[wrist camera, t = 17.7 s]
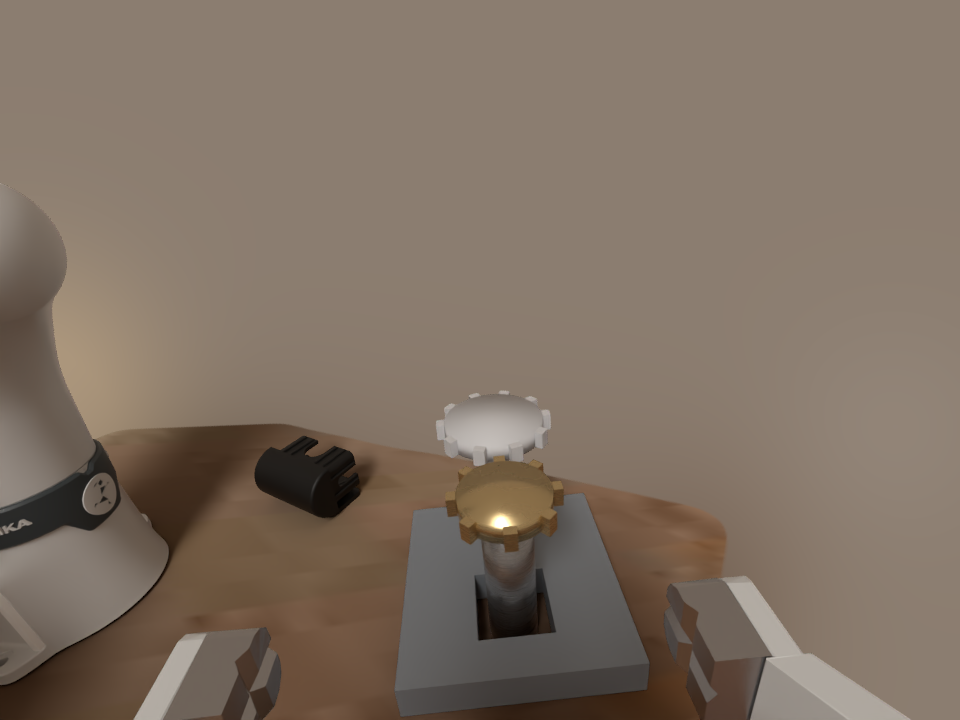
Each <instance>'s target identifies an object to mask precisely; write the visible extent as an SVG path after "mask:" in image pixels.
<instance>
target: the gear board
mask: <svg viewBox="0 0 960 720" xmlns="http://www.w3.org/2000/svg"><path fill="white" fill-rule="evenodd" d="M444 410H445V419H444V420H437V421H436V430H437V437H438V440H444V446H445V453H446V454H447V455H448V456H450V457H451V458H453V457H455V456H457V455H461V456H463V457H466V458H469V459H472V460H473V461H474V466H481V465H484V464H487V463H492V462H494V460H493V456H503V455H504V456H505V461H509V460H510V461H516V462H521V461H523V460H524V457H523V454H525V453H527V452H529V451H530V450H532V449H533V448H534V447H537V448H541V449H543V448H544V447H545V446H546V444H547V443H548V438H547V429H551V419H550V417H551V415H550V412H549V410H540V409H539V408H538V406H537V399H536V398H534V397H531V396H528V397H526V398H522V397H518V396H514V395H510V391H500V392H499V394H490V395H483V396H480V395H479V394H478V393H475V394H471V395H469V399H468V400H465V401H463V402H461V403H459V404H457V405H454V404H449V405H448V406H446V407H445V408H444ZM554 511H556V512H557V530H556V531H555V532H554V533H553V535H552V536H551V537H549V536H547V535H545V534H543V533H539V534H538V535H536V536H534V545H535V568H536V592H537V593H541V592H543V594H544V598H545V603H546V608H547V613H548V618H549V622H550V627H551V632H552V633H545V634H536V635H527V636H518V637H508V638H499V639H490V640H480V639H479V622H478V605H477V599H485V598H487V591H486V581H485V572H484V562H483V553H482V543H481V540H480V539H477V540H476V541H475V542H474V543H473V544H472V545H469V544H468V543H466V542H465V541H463V540H462V539H461V535H460V528H459V518H458V516H454V517H448V515H447V507H442V508H432V509H422V510H414V512H413V521H412V531H411V540H410V550H409V559H408V568H407V578H406V587H405V597H404V606H403V615H402V625H401V634H400V643H399V653H398V662H397V672H396V681H395V690H394V691H395V695H396V699H397V703H398V707H399V711H400V715H401V717H403V716H412V715H421V714H431V713H440V712H449V711H458V710H467V709H476V708H485V707H494V706H503V705H512V704H521V703H531V702H540V701H549V700H558V699H567V698H576V697H585V696H594V695H603V694H612V693H622V692H631V691H640V690H647V684H648V675H649V666H650V663H649V660H648V657H647V655H646V652H645V650H644V647H643V645H642V642H641V639H640V637H639V634H638V632H637V629H636V627H635V624H634V621H633V619H632V616H631V614H630V611H629V609H628V606H627V603H626V601H625V598H624V596H623V593H622V591H621V588H620V586H619V583H618V580H617V578H616V575H615V573H614V570H613V568H612V565H611V562H610V560H609V557H608V555H607V552H606V550H605V547H604V544H603V542H602V539H601V537H600V534H599V532H598V529H597V526H596V524H595V521H594V519H593V516H592V514H591V511H590V508H589V506H588V503H587V501H586V498H585V496H584V493H580V494H570V495H564V506H554Z"/></svg>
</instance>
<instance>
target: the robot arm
mask: <svg viewBox="0 0 960 720" xmlns="http://www.w3.org/2000/svg"><path fill="white" fill-rule="evenodd" d="M66 268H67V257H66V251H65V247H64V243H63V240H62V238H61V236H60V234H59V232H58V230H57V228H56V227H55V225H54V224H53V222H52V221H51V219H50V218H49V217H48V216H47V215H46V213H45V212H44V211H43V210H42V209H40V207H38V206H37V205H36V204H35V203H34V202H33V201H31V200H30V199H29V198H27V197H26V196H25V195H23V194H21V193H20V192H18V191H16V190H15V189H13V188H11V187H9V186H7V185H5V184H2V183H0V685H5V684H9V683H12V682H14V681H16V680H18V679H20V678H21V677H23V676H25V675H26V674H28V673H29V672H30V671H32V670H33V669H35V668H36V667H38V666H39V665H40V664H42V663H43V662H44V661H46V660H47V659H48V658H50V657H51V656H52V655H54V654H55V653H57V652H59V651H60V650H62V649H64V648H66V647H68V646H70V645H72V644H74V643H76V642H78V641H80V640H82V639H84V638H86V637H87V636H89V635H91V634H93V633H95V632H96V631H98V630H100V629H101V628H103V627H105V626H106V625H108V624H109V623H111V622H112V621H114V620H115V619H116V618H118V617H119V616H121V615H122V614H123V613H124V612H126V611H127V610H128V609H129V608H131V607H132V606H133V605H134V604H135V603H136V602H138V601H139V600H140V599H141V598H142V597H143V596H144V595H145V594H146V593H147V592H148V590H149V589H150V588H151V587H152V586H153V585H154V583H155V582H156V581H157V579H158V578H159V576H160V575H161V573H162V572H163V570H164V568H165V566H166V563H167V560H168V555H169V549H168V545H167V543H166V542H165V540H164V539H163V538H162V537H161V536H160V535H158V534H157V533H156V532H155V530H154V529H153V528H152V524H151V521H150V520H149V518H148V517H147V515H146V514H141V513H140V512H139V510H138V509H137V507H136V506H135V504H134V503H133V502H132V500H131V499H130V497H129V496H128V494H127V493H126V491H125V490H124V489H123V487H122V486H121V484H120V483H119V482H118V480H117V476H116V471H115V469H114V467H113V465H112V463H111V461H110V459H109V455H108V453H107V451H105V450H104V448H103V446H102V445H101V443H100V442H99V441H97V440H95V439H92V437H91V435H90V433H89V431H88V429H87V427H86V425H85V423H84V421H83V418H82V416H81V414H80V412H79V410H78V408H77V406H76V404H75V402H74V400H73V398H72V396H71V393H70V391H69V390H68V387H67V385H66V383H65V380H64V377H63V375H62V372H61V368H60V365H59V361H58V357H57V351H56V345H55V338H54V329H53V319H52V303H53V300H54V297H55V296H56V294H57V293H58V291H59V289H60V288H61V286H62V283H63V281H64V278H65V274H66ZM666 597H667V599H668V601H669V603H670V605H671V606H670V607H669V608H668V609H667V610H666V611H665V614H664V628H665V634H666V639H667V642H668V646H669V649H670V651H671V654H672V656H673V658H674V661H675V663H676V664H677V665H678V666H679V667H681V668H682V669H683V670H684V671H685V672H687V673H688V677H687V684H686V688H687V690H688V693H689V695H690V697H691V699H692V702H693V704H694V706H695V708H696V711H697V713H698V715H699V717H700V720H911V719H909V718H907V717H906V716H905V715H903V714H902V713H900V712H899V711H897V710H896V709H894V708H893V707H891V706H890V705H888V704H887V703H885V702H884V701H882V700H881V699H879V698H878V697H876V696H875V695H873V694H872V693H870V692H869V691H867V690H866V689H864V688H863V687H861V686H860V685H858V684H857V683H855V682H854V681H852V680H851V679H849V678H848V677H846V676H845V675H843V674H842V673H840V672H839V671H837V670H835V669H834V668H833V667H831V666H830V665H828V664H827V663H825V662H824V661H822V660H821V659H819V658H817V657H816V656H815V655H813V654H812V653H808V654H803V653H802V651H801V650H800V648H799V647H798V646H797V644H796V643H795V641H794V640H793V639H792V637H791V636H790V634H789V633H788V632H787V630H786V629H785V627H784V626H783V625H782V623H781V622H780V620H779V619H778V618H777V616H776V615H775V613H774V612H773V611H772V609H771V608H770V606H769V605H768V604H767V602H766V601H765V599H764V598H763V597H762V595H761V594H760V592H759V591H758V590H757V588H756V587H755V585H754V584H753V583H752V581H751V580H750V579H749V578H747V577H746V576H736V577H727V578H719V579H718V578H712V579H704V580H696V581H687V582H679V583H671V584H670V585H669V586H668V589H667V596H666ZM270 640H271V637H270V635H269V633H268V630H267V628H266V627H264V628H252V629H239V630H227V631H213V632H203V633H192V634H186V635H185V636H184V637H183V638H182V639H181V640H179V641H178V643H177V644H176V646H175V647H174V649H173V651H172V653H171V655H170V656H169V658H168V660H167V662H166V663H165V665H164V667H163V669H162V670H161V672H160V674H159V676H158V677H157V679H156V681H155V683H154V684H153V686H152V688H151V690H150V691H149V693H148V695H147V697H146V699H145V700H144V702H143V704H142V706H141V707H140V709H139V711H138V713H137V714H136V716H135V718H134V720H263V719H264V718H265V717H266V715H267V714H268V713H269V712H270V711H271V710H272V709H273V708H274V706H275V702H276V699H277V696H278V693H279V688H280V680H281V665H280V660H279V657H278V654H277V653H276V652H274V651H273V650H271V649H270V648H268V645H269V643H270Z"/></svg>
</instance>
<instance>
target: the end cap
mask: <svg viewBox="0 0 960 720" xmlns="http://www.w3.org/2000/svg"><path fill="white" fill-rule="evenodd" d="M317 444H318V440H315V439H312V438H309V437H306V436H302V437H300V438H299V439H297V440H296V441H294V442H293V443H291V444H290V445H288V446H286V447H285V448H283V449H282V450H277V449H275V448H272V447H270V448H269V449H268V450H266V452H265V453H264V454H263V455H262V456H261V457H260V459H259V461H258V463H257V465H256V468H255V482H256V484H257V486H258V488H259V489H260V490H262V491H263V492H265V493H267V494H269V495H272V496H274V497H276V498H278V499H280V500H283V501H285V502H287V503H289V504H291V505H294V506H296V507H298V508H300V509H302V510H305V511H307V512H309V513H311V514H313V515H316V516H318V517H321V518H326V517H334V516H336V515H337V514H339V513H340V512H341V511H342V510H343V509H345V508H346V507H347V506H348V505H349V504H350V503H351V502H353V501H354V500H355V499H356V498H357V497H358V496H359V495H360V491H359V489H358V488H356V486H357V485H358V484H359V477H358V473H354V474H353V475H352V476H350V477H349V478H347V477H344V476H342V475H343V474H344V473H346V472H347V471H348V470H349V469H351V468H352V467H353V466H355V465H356V464H355V460H354V456H353V454H352V453H351V452H350V451H347V450H345V449H342V448H339V447H336V446H334V447H332V448H331V449H329V450H328V451H327V452H325V453H324V454H322V455H319V456H316V457H309V456H308V455H306V456H305V453H306V452H307V451H308V450H309V449H311V448H312V447H314V446H315V445H317Z"/></svg>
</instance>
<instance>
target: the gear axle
mask: <svg viewBox="0 0 960 720" xmlns="http://www.w3.org/2000/svg"><path fill="white" fill-rule="evenodd" d="M493 460H494V462H492V463H487V464H484V465H481V466H479V467H477V468H475V469H471V468H469V467H467V466H466V467H464V468H463V469H461V470H460V471H459V472H458V476H459V484H458V486H457V489H456V492H455V491H454V492H446V507H447V515H448V517H454V516H458V518H459V528H460V535H461V539H462V540H463V541H465V542H466V543H468V544H469V545H472V544H473V543H474V542H475V541H476V540H477V539H480V540H481V543H482V553H483V562H484V572H485V581H486V591H487V600H488V610H489V619H490V629H491V634H492V637H493V639H499V638H508V637H518V636H527V635H536V634H537V633H538V615H537V592H536V568H535V545H534V536H536V535H538V534H539V533H543V534H545V535H547V536H549V537H551V536H552V535H553V533H554V532H555V531H556V530H557V512H556V511H554V506H564V489H563V486H562V483H561V481H554V482H551V481H550V479H549V478H548V477H547V476H546V474H544V473H543V463H540V462H538V461H536V460H532V461H531V462H530V463H529V464H526V463H522V462H516V461H505V456H504V455H503V456H493Z"/></svg>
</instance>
